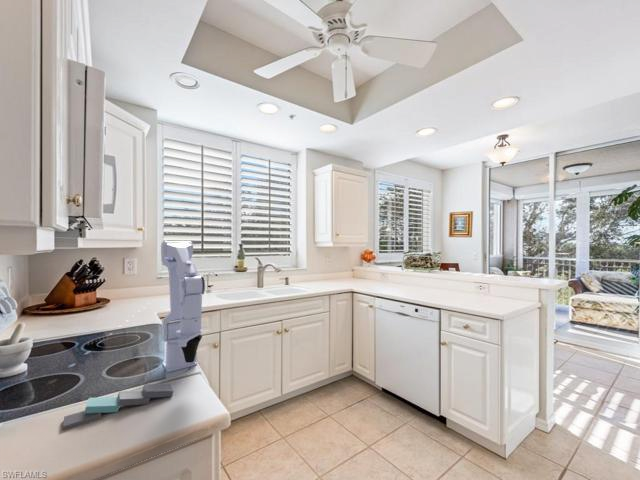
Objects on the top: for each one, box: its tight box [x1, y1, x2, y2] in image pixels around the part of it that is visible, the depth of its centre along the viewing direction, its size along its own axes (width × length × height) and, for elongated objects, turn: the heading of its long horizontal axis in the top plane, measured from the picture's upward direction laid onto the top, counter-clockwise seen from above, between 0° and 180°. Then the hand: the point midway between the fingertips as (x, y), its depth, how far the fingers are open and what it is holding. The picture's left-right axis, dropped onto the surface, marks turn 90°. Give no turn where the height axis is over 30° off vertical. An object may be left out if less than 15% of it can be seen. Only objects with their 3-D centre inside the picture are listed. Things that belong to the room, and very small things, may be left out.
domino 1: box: [62, 410, 102, 431], centre depth 70 cm, size 2×4×7 cm
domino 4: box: [141, 383, 174, 399], centre depth 80 cm, size 2×4×7 cm
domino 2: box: [84, 396, 120, 414], centre depth 73 cm, size 2×4×7 cm
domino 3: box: [116, 390, 151, 407], centre depth 77 cm, size 2×4×7 cm
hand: (189, 361), depth 85 cm, fingers closed
